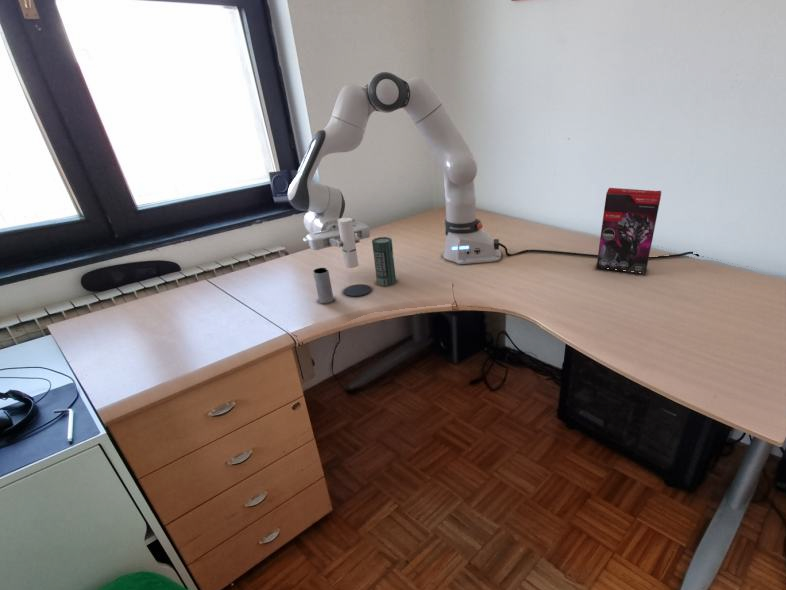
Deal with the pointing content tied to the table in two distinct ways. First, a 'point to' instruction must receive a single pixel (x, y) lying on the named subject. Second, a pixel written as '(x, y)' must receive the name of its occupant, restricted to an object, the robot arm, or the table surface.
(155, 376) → the table surface
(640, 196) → the graphics card box
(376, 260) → the can
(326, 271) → the grey hollow cylinder
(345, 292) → the slate coaster
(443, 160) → the robot arm
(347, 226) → the tube
